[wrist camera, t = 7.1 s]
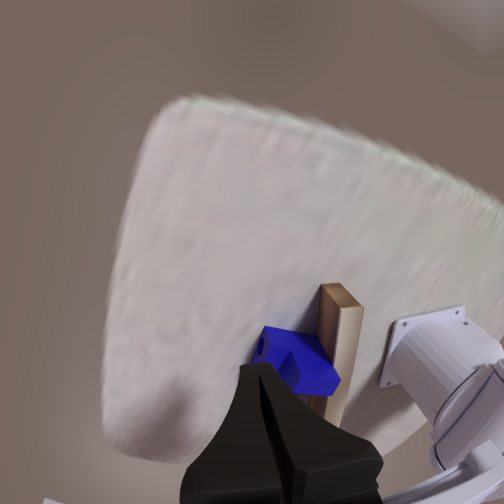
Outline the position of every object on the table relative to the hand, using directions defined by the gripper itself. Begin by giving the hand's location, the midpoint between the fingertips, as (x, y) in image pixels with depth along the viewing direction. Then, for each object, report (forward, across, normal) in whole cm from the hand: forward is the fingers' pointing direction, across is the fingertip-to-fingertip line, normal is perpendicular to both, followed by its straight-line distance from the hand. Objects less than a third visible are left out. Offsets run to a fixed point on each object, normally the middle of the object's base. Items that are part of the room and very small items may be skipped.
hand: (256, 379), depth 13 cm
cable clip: (+10, -2, +9) cm, 14 cm away
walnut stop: (+9, -7, +8) cm, 14 cm away
